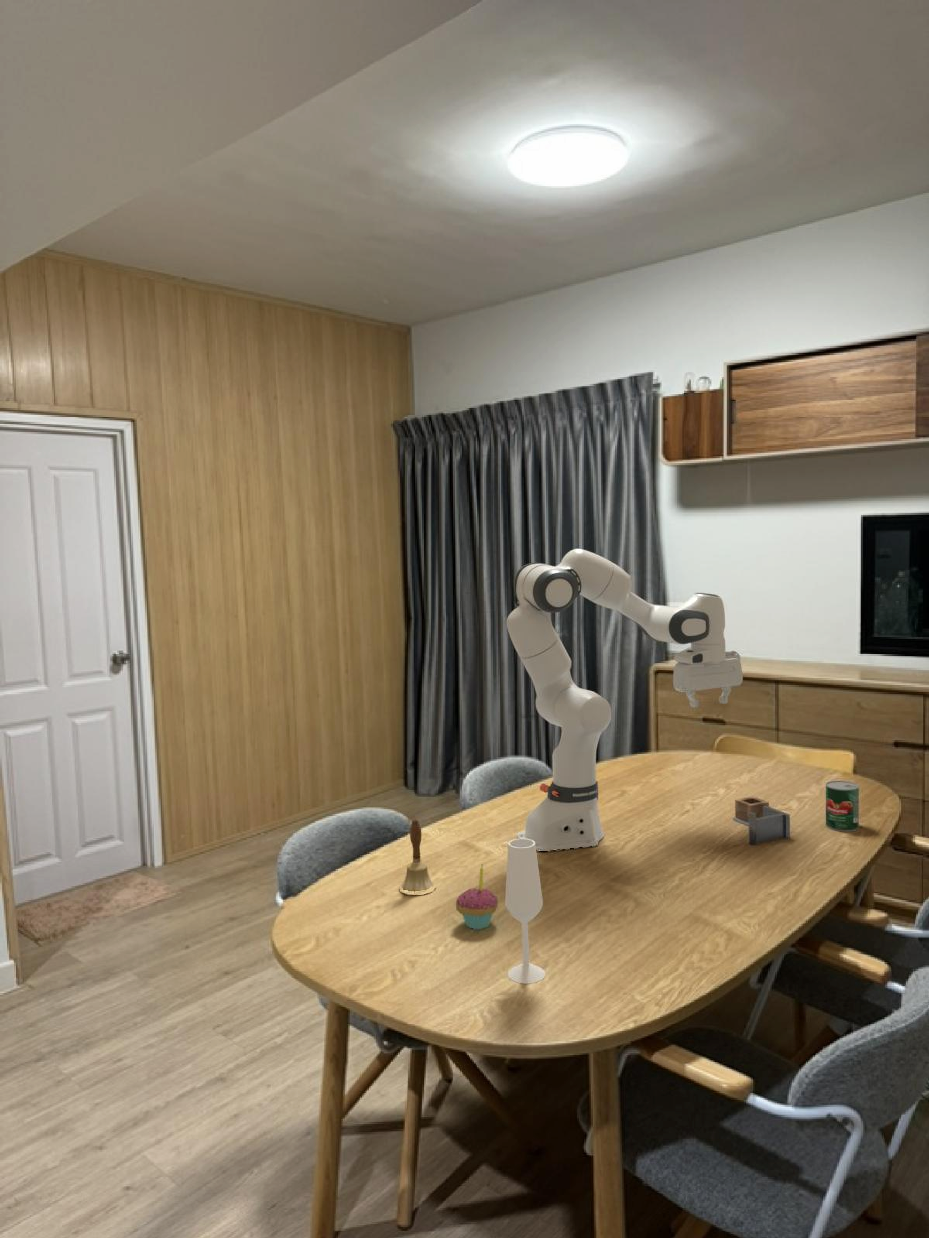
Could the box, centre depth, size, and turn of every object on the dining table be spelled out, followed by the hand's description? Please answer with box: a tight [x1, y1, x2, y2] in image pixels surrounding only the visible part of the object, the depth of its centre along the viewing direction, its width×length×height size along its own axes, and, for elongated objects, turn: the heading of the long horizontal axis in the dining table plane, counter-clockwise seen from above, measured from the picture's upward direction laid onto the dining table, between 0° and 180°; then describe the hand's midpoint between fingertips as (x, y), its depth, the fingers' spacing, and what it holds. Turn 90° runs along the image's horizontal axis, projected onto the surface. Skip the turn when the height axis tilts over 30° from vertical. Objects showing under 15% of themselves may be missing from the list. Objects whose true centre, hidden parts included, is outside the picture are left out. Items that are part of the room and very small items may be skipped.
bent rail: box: [748, 805, 791, 846], centre depth 215 cm, size 12×8×8 cm
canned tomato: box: [825, 780, 860, 832], centre depth 220 cm, size 8×8×11 cm
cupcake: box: [455, 863, 499, 930], centre depth 172 cm, size 9×8×12 cm
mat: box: [732, 816, 749, 828], centre depth 227 cm, size 7×7×1 cm
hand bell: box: [400, 818, 434, 892], centre depth 191 cm, size 8×8×16 cm
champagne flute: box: [504, 838, 546, 985], centre depth 151 cm, size 7×7×24 cm
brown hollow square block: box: [734, 796, 770, 823], centre depth 227 cm, size 6×6×5 cm
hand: (708, 705), depth 228 cm, fingers open, 8 cm apart
